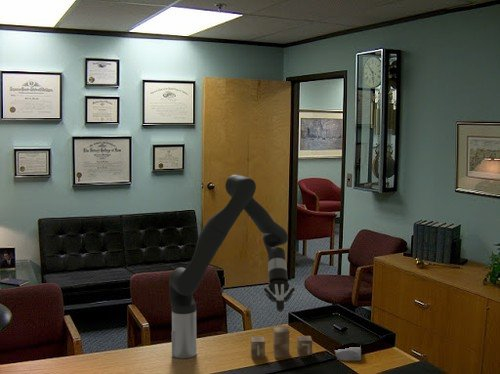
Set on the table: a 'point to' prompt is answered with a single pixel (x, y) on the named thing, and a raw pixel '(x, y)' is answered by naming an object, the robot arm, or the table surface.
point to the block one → (257, 347)
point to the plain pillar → (281, 342)
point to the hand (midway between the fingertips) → (280, 310)
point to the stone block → (349, 354)
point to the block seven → (304, 345)
